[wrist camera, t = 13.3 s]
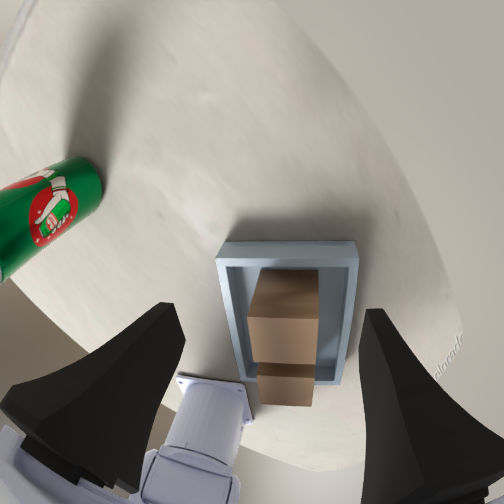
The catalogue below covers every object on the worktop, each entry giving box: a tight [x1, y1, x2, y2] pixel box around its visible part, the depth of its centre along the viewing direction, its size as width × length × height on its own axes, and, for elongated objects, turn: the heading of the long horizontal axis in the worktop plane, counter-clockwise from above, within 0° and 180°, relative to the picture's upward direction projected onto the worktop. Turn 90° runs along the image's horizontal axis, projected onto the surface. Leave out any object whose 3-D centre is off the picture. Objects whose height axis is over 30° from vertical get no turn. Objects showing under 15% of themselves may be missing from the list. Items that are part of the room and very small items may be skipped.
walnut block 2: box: [256, 362, 315, 407], centre depth 21 cm, size 4×4×5 cm
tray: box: [215, 241, 359, 385], centre depth 22 cm, size 13×9×2 cm
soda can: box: [0, 156, 102, 285], centre depth 15 cm, size 5×5×12 cm
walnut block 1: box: [247, 269, 319, 364], centre depth 19 cm, size 4×4×5 cm
